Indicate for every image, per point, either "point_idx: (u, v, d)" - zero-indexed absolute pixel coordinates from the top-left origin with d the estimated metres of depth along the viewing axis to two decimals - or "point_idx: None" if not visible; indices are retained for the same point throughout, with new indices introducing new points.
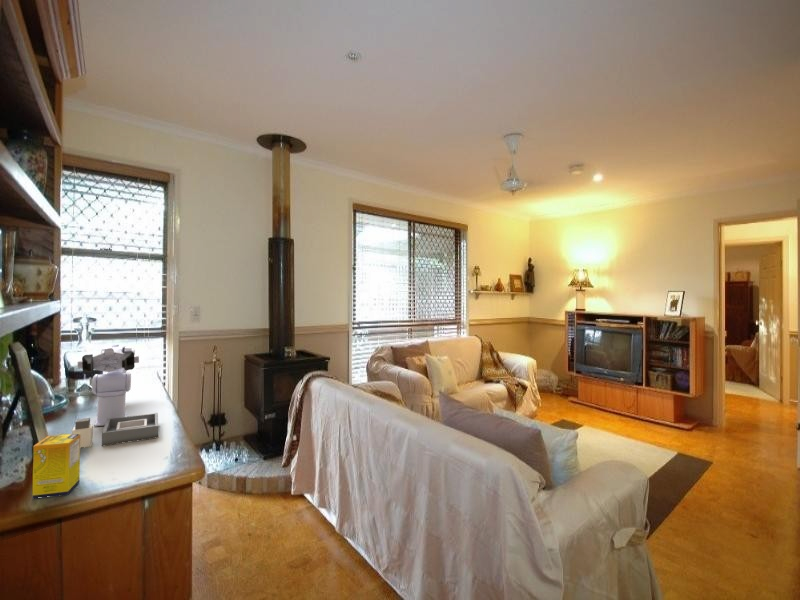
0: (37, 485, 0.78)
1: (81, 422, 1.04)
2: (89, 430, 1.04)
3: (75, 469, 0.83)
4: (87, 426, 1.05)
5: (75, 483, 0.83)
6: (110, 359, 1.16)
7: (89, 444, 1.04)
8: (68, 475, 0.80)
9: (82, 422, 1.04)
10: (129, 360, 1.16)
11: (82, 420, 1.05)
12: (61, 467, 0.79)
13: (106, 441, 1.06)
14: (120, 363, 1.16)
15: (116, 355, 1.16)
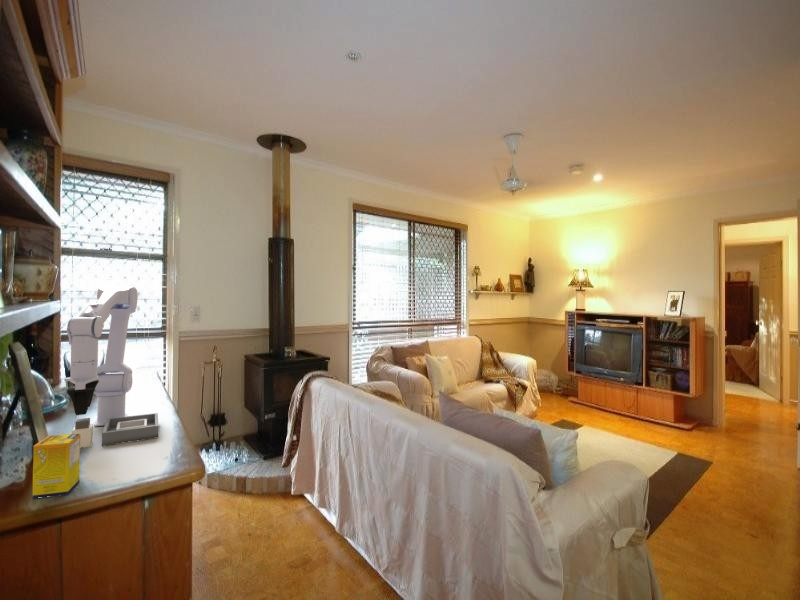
0: (37, 485, 0.78)
1: (81, 422, 1.04)
2: (89, 430, 1.04)
3: (75, 469, 0.83)
4: (87, 426, 1.05)
5: (75, 483, 0.83)
6: None
7: (89, 444, 1.04)
8: (68, 475, 0.80)
9: (82, 422, 1.04)
10: None
11: (82, 420, 1.05)
12: (61, 467, 0.79)
13: (106, 441, 1.06)
14: None
15: None
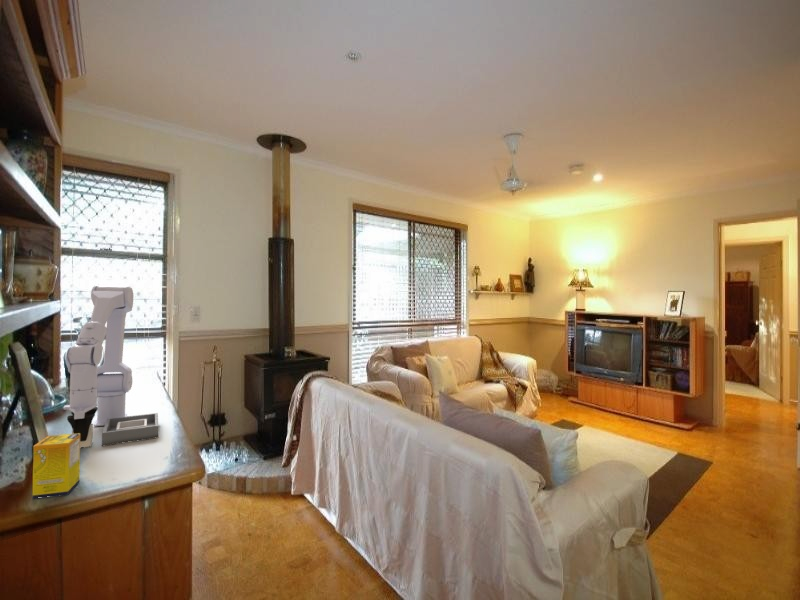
0: (37, 485, 0.78)
1: None
2: (89, 430, 1.04)
3: (75, 469, 0.83)
4: None
5: (75, 483, 0.83)
6: None
7: (89, 444, 1.04)
8: (68, 475, 0.80)
9: None
10: None
11: None
12: (61, 467, 0.79)
13: (106, 441, 1.06)
14: None
15: None
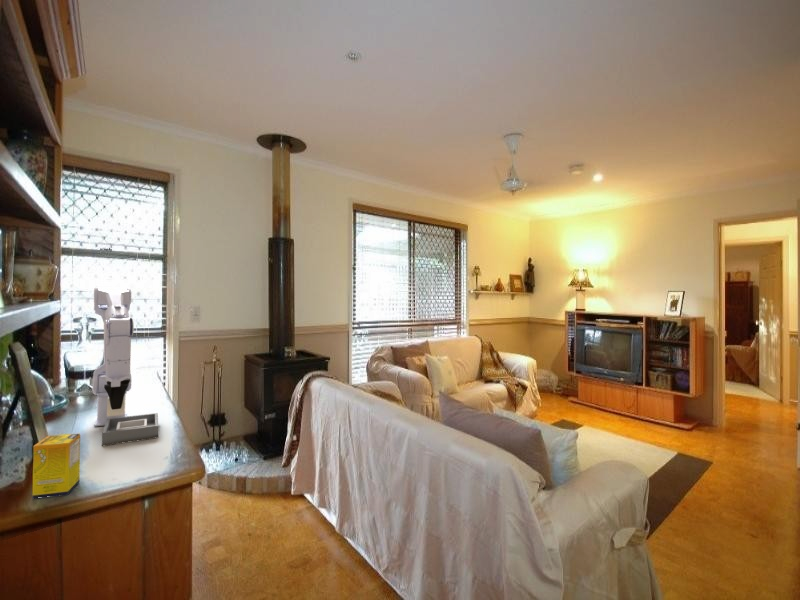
0: (37, 485, 0.78)
1: None
2: (123, 399, 1.11)
3: (75, 469, 0.83)
4: None
5: (75, 483, 0.83)
6: None
7: (123, 412, 1.11)
8: (68, 475, 0.80)
9: None
10: (116, 387, 1.08)
11: None
12: (61, 467, 0.79)
13: (106, 441, 1.06)
14: None
15: None
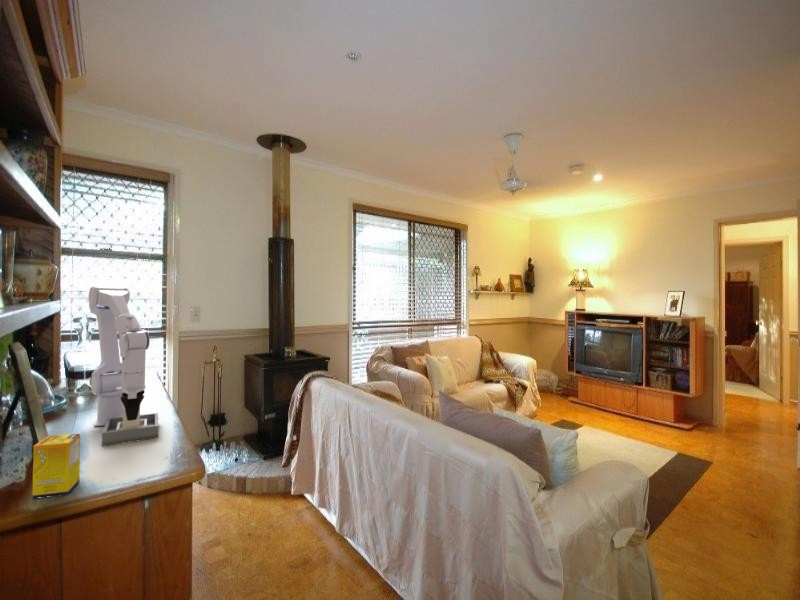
0: (37, 485, 0.78)
1: None
2: None
3: (75, 469, 0.83)
4: None
5: (75, 483, 0.83)
6: None
7: (138, 423, 1.14)
8: (68, 475, 0.80)
9: None
10: (132, 398, 1.12)
11: None
12: (61, 467, 0.79)
13: (106, 441, 1.06)
14: None
15: None
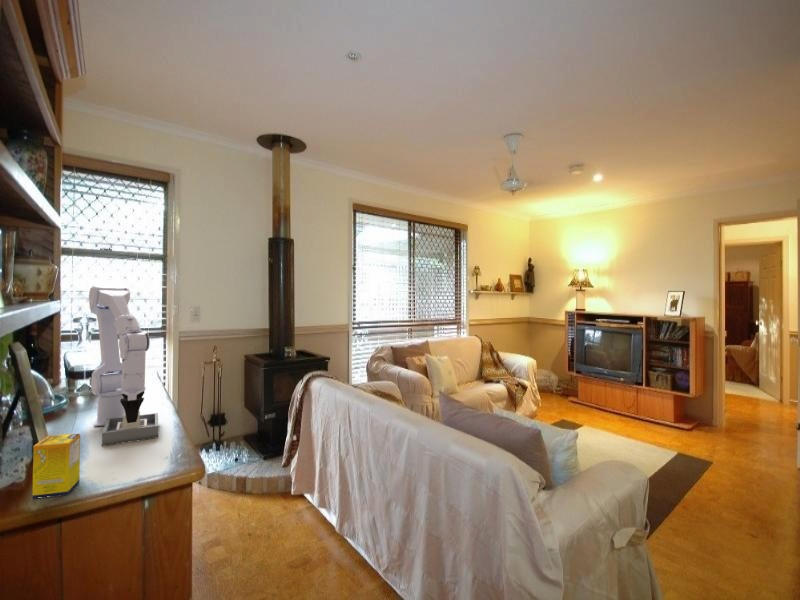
0: (37, 485, 0.78)
1: None
2: (138, 416, 1.14)
3: (75, 469, 0.83)
4: None
5: (75, 483, 0.83)
6: None
7: None
8: (68, 475, 0.80)
9: None
10: None
11: None
12: (61, 467, 0.79)
13: (106, 441, 1.06)
14: None
15: None
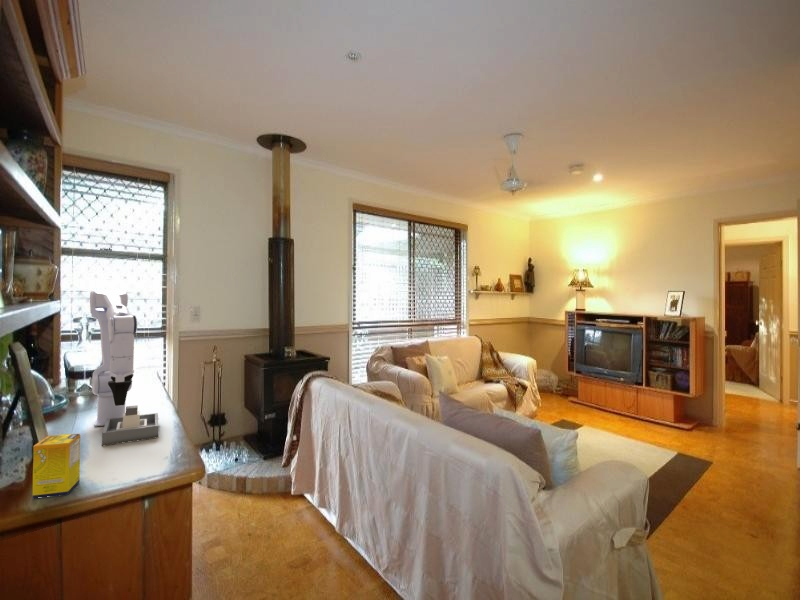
0: (37, 485, 0.78)
1: (131, 409, 1.13)
2: (138, 416, 1.14)
3: (75, 469, 0.83)
4: (136, 413, 1.14)
5: (75, 483, 0.83)
6: None
7: None
8: (68, 475, 0.80)
9: (132, 409, 1.13)
10: (120, 383, 1.10)
11: (131, 407, 1.14)
12: (61, 467, 0.79)
13: (106, 441, 1.06)
14: None
15: None
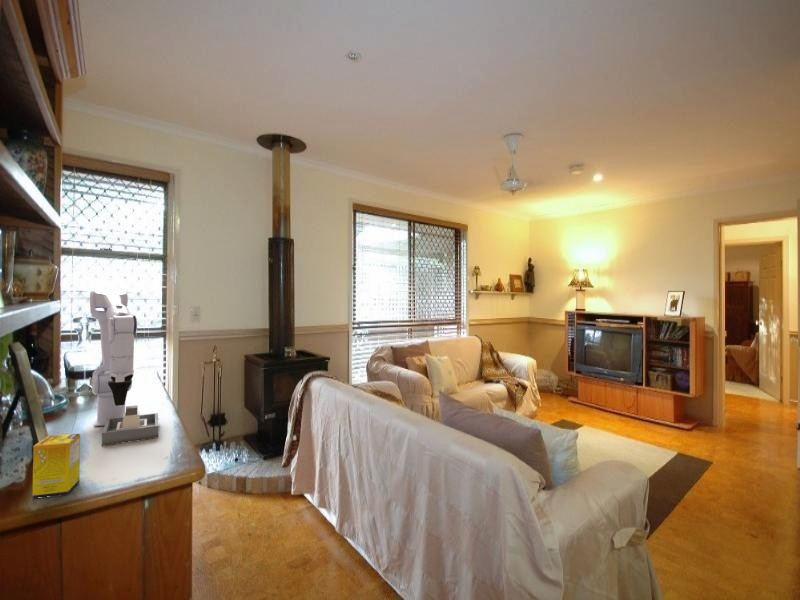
0: (37, 485, 0.78)
1: (131, 409, 1.13)
2: (138, 416, 1.14)
3: (75, 469, 0.83)
4: (136, 413, 1.14)
5: (75, 483, 0.83)
6: None
7: None
8: (68, 475, 0.80)
9: (132, 409, 1.13)
10: (120, 383, 1.10)
11: (131, 407, 1.14)
12: (61, 467, 0.79)
13: (106, 441, 1.06)
14: None
15: None
